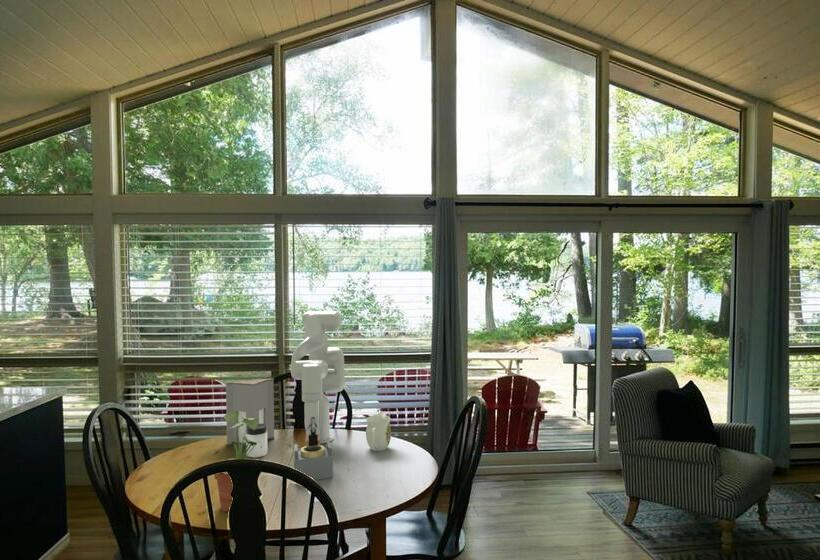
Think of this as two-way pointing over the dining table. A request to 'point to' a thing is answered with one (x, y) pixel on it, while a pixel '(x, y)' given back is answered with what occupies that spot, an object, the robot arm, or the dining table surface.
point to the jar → (256, 436)
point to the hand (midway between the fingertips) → (312, 441)
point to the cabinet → (250, 406)
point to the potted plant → (224, 478)
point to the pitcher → (378, 432)
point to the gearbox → (314, 461)
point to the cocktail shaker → (308, 448)
